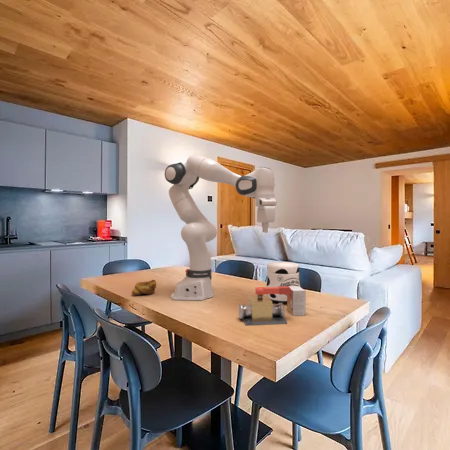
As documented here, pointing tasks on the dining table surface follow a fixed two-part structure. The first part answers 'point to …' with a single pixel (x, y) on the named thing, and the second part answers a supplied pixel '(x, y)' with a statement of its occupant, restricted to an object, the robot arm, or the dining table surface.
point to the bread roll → (144, 287)
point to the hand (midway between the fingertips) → (265, 232)
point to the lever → (272, 290)
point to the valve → (262, 311)
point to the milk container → (282, 278)
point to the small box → (296, 301)
